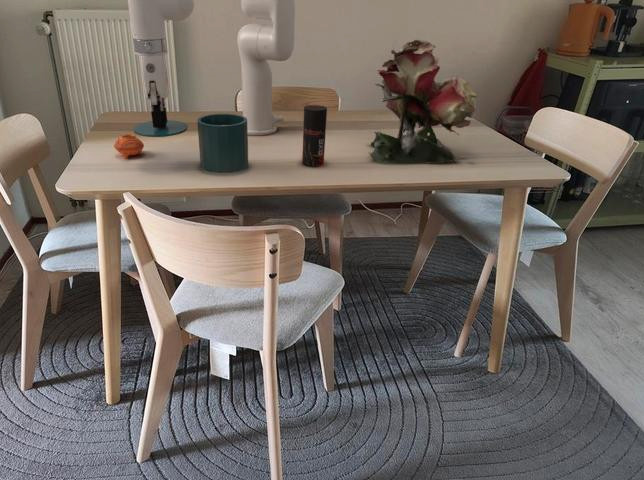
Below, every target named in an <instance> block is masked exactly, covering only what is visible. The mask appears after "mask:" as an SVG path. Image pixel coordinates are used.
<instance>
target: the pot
mask: <svg viewBox="0 0 644 480" xmlns="http://www.w3.org/2000/svg"><path fill="white" fill-rule="evenodd" d="M113 147H114V149H115V150H116V151H117V152H118V153H120V154H121V155H122V156H123V159H125V160H128V159H129V156H130V157H131V156H135V155H142V154H143V153H142V152H143V149H144V147H145V145H144V142H142V140H141V139H139V138H138V137H136V135H135V134H131V133H127V134H124V135H120V137H119V138H118V139H116V140H115V142H114V144H113Z"/></svg>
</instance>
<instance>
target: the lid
mask: <svg viewBox="0 0 644 480" xmlns="http://www.w3.org/2000/svg"><path fill="white" fill-rule="evenodd" d="M163 111H164V107H163ZM132 130H133V133H134V135H135V134H136V136H137V135H138V136H140V137H147V138H166V137H173V136H178V135H181V134H183V133H185V132H186V131H188V130H189V126H188V124H187V123H185V122H183V121H179V120H175V119H174V120H173V119H167V124H166V127H165V128H154V127H153V122H152V120H150V121H144V122H140V123H138V124H136V125H135V126H134V127H133V129H132Z"/></svg>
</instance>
